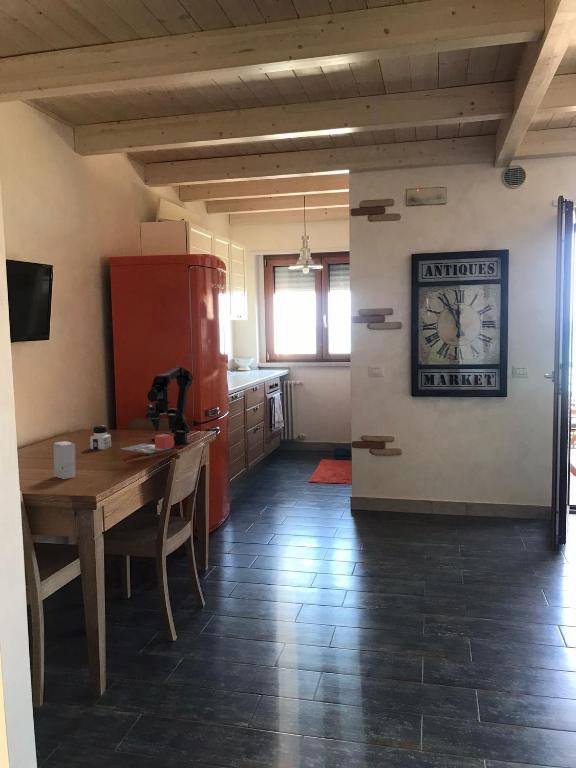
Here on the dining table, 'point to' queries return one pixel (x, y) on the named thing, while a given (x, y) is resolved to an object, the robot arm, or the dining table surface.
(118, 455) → the dining table surface
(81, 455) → the dining table surface
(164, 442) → the cap
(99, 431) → the container
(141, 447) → the panel
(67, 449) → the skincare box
